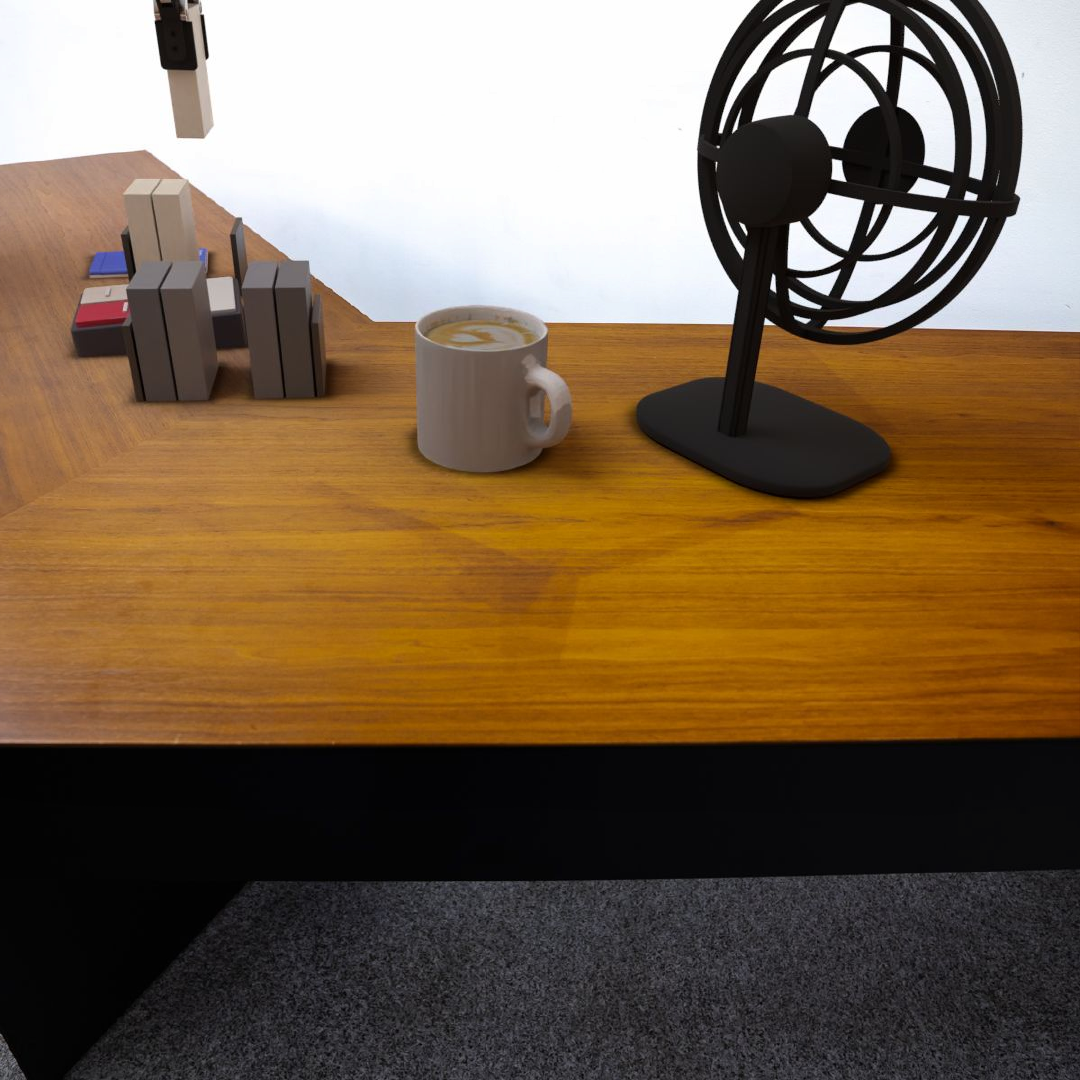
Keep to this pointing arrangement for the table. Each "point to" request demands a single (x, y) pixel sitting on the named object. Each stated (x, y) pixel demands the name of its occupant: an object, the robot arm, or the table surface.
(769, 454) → the desk fan
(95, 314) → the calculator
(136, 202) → the white books
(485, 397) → the coffee mug
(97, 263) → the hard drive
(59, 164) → the table surface
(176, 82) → the white book
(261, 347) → the grey books
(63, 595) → the table surface
